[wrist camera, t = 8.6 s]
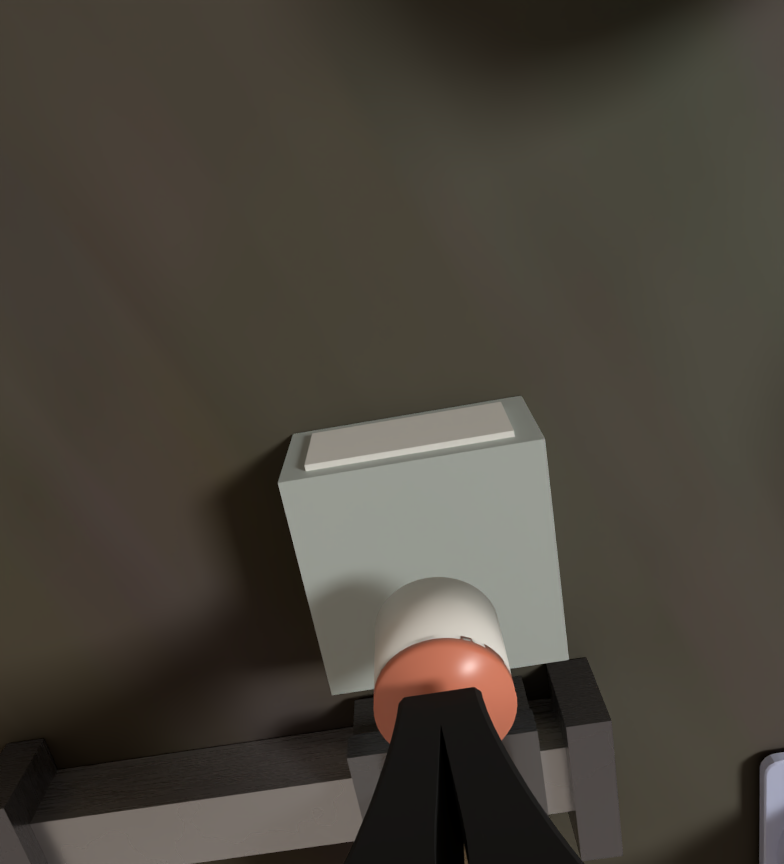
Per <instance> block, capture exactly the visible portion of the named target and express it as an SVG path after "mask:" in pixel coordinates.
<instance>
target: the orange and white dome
mask: <svg viewBox="0 0 784 864" xmlns="http://www.w3.org/2000/svg"><path fill="white" fill-rule="evenodd" d="M470 687H475V688H477V689H478V690H480V691H481V692H482V696H483V700H484V703H485V705H486V708H487V711H488V713H489V716H490V718H491V720H492V723H493V725H494V727H495V729H496V731H497V733H498V735H499V737H500V739H501V740H502V739H503V738H504V737H505V736H506V735H507V733H508V732H509V730H510V728H511V727H512V725H513V722H514V720H515V716H516V713H517V696H516V692H515V687H514V683H513V679H512V675H511V671H510V667H509V662H508V658H507V654H506V650H505V646H504V642H503V637H502V633H501V629H500V625H499V621H498V617H497V613H496V611H495V608H494V606H493V605H492V603H491V601H490V600H489V599H488V598H487V596H486V595H484V594H483V593H482V592H481V591H480V590H479V589H477V588H476V587H474V586H472V585H471V584H469V583H466V582H464V581H461V580H458V579H454V578H447V577H430V578H424V579H419V580H416V581H413V582H411V583H408V584H406V585H404V586H403V587H401V588H399V589H398V590H396V591H395V592H394V593H393V594H392V595H391V596H390V597H389V598H388V599H387V600H386V601H385V602H384V604H383V605H382V607H381V609H380V611H379V613H378V616H377V618H376V623H375V654H374V709H373V711H374V718H375V721H376V725H377V727H378V729H379V731H380V733H381V734H382V736H383V737H384V738H385V740H386V741H387V742H388V743H389V744H390V741H391V738H392V734H393V730H394V725H395V721H396V716H397V710H398V704H399V702H400V701H401V700H402V699H403V698H404V697H409V696H416V695H423V694H430V693H436V692H443V691H450V690H456V689H463V688H470Z"/></svg>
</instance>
